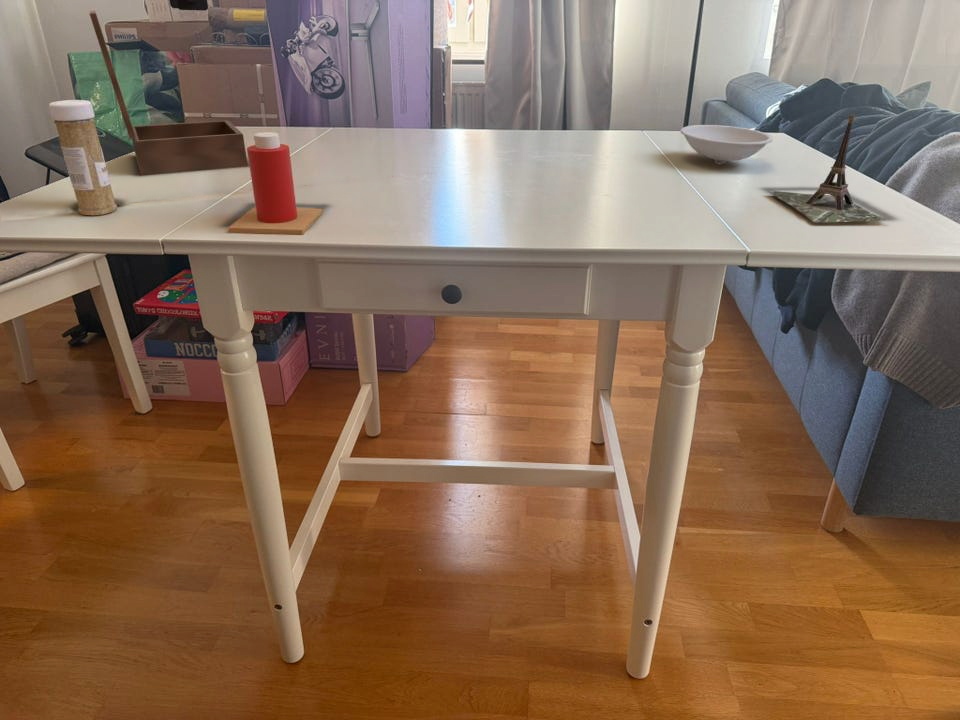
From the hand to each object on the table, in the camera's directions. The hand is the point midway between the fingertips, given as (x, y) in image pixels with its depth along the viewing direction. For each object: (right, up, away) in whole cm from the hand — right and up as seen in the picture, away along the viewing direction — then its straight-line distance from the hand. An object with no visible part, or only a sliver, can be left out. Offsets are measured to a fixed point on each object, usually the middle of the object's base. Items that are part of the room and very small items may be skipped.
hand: (188, 9), depth 78 cm
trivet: (+9, -24, +6) cm, 26 cm away
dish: (+76, -7, +39) cm, 86 cm away
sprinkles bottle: (-16, -22, +9) cm, 28 cm away
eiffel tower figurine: (+81, -20, +14) cm, 85 cm away
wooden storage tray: (-13, -9, +32) cm, 36 cm away
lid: (-21, +2, +22) cm, 30 cm away
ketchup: (+9, -23, +5) cm, 25 cm away
